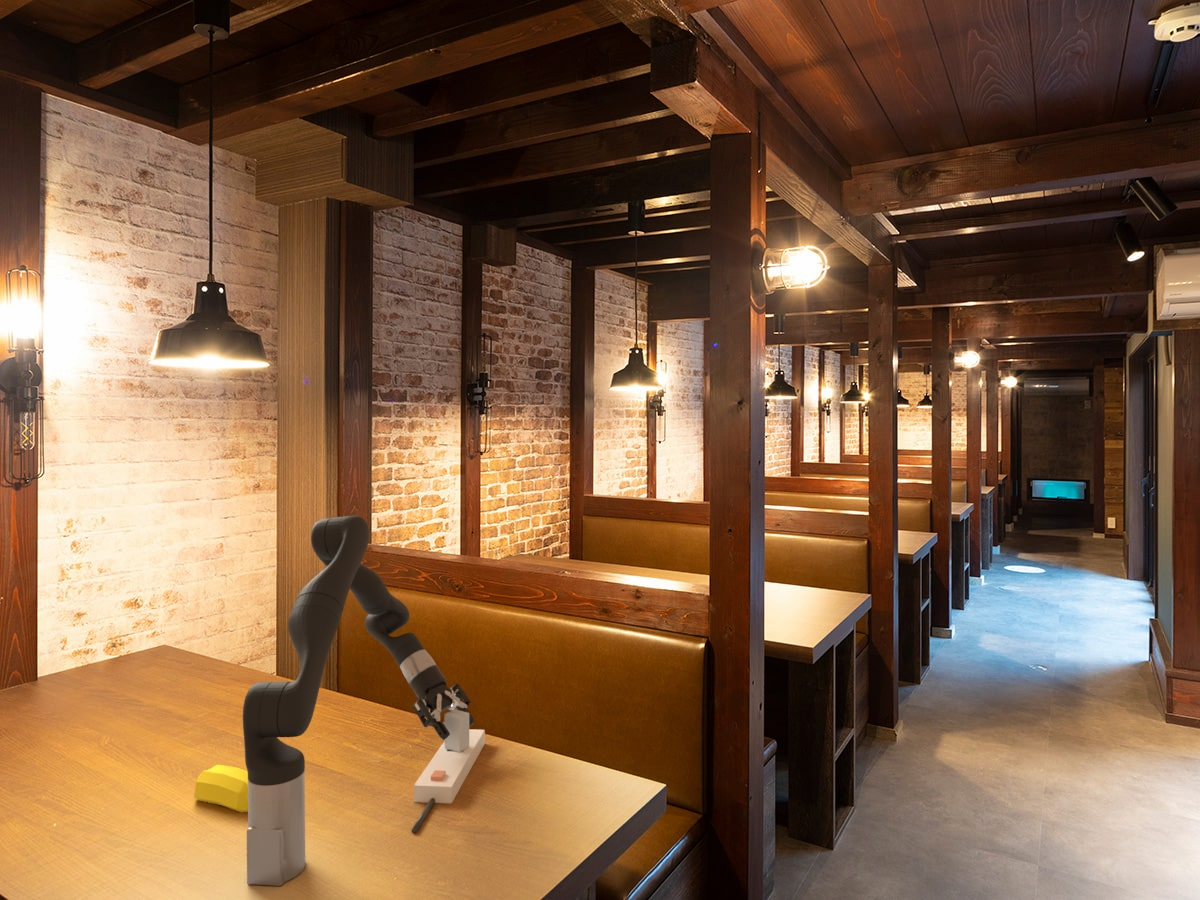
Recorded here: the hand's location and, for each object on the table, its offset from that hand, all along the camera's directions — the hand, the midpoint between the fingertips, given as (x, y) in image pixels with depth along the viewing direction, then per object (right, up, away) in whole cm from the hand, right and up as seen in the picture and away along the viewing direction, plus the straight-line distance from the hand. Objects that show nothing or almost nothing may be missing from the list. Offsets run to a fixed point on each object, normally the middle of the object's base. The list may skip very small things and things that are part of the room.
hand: (459, 731), depth 177 cm
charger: (-1, -6, +1) cm, 6 cm away
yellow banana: (-44, -8, -18) cm, 49 cm away
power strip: (-2, -8, -9) cm, 12 cm away
